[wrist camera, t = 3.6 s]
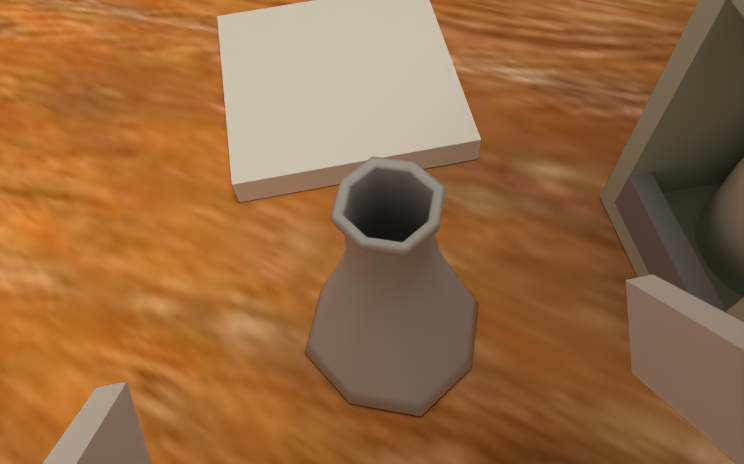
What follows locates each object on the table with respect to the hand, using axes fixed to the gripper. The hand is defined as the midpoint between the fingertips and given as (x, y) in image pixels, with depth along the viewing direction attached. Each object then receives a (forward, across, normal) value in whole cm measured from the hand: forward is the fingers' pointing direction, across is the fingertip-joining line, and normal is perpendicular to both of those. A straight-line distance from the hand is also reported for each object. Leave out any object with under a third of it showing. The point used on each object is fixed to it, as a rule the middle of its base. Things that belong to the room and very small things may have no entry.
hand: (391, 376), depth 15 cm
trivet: (+19, +1, +7) cm, 21 cm away
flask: (+10, +1, -3) cm, 10 cm away
